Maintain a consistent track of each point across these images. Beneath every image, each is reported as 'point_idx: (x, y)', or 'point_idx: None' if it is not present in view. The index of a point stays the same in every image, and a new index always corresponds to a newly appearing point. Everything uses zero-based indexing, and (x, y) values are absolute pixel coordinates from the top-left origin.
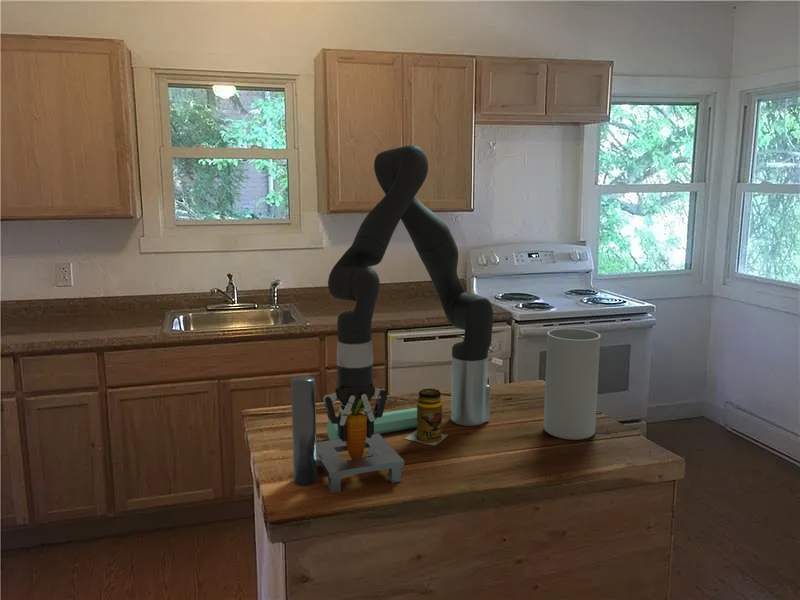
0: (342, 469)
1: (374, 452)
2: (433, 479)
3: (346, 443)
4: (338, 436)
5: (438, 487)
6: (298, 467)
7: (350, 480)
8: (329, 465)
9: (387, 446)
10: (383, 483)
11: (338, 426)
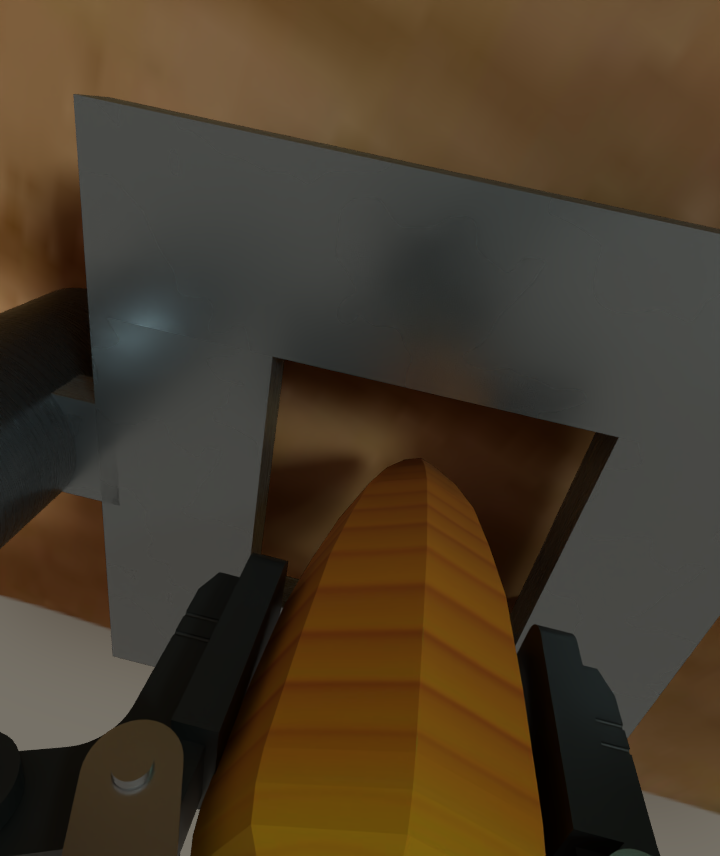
0: None
1: (536, 593)
2: (716, 706)
3: (306, 568)
4: (208, 589)
5: (660, 754)
6: None
7: (336, 494)
8: (138, 596)
9: (699, 595)
10: None
11: (150, 703)
